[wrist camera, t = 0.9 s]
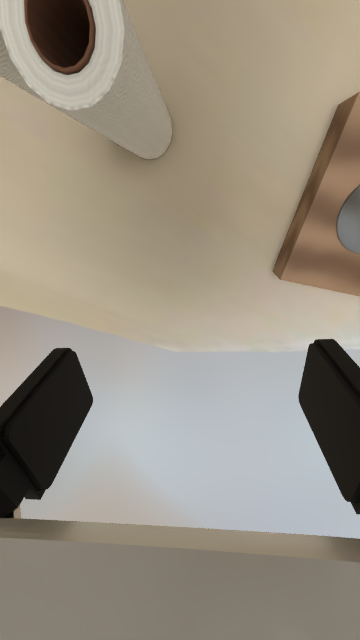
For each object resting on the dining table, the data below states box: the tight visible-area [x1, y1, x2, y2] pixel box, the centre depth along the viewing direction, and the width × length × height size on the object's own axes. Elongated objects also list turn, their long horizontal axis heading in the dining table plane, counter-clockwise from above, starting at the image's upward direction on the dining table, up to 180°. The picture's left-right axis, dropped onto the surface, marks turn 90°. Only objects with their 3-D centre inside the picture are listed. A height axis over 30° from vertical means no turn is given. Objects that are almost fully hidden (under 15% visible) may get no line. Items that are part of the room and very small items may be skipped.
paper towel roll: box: [0, 0, 173, 159], centre depth 20 cm, size 7×6×21 cm
